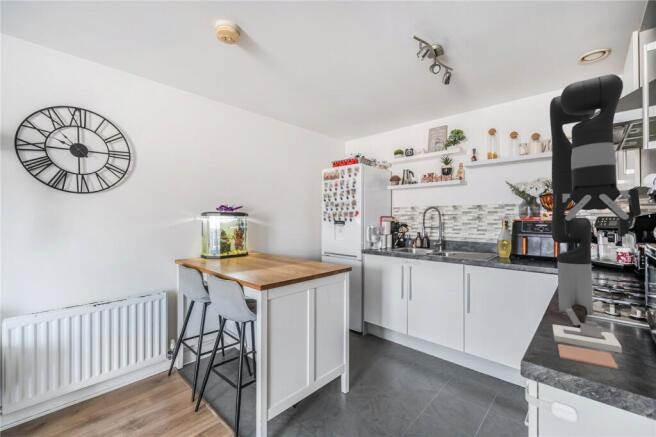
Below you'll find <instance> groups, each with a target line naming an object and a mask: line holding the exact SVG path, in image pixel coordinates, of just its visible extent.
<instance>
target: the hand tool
mask: <svg viewBox="0 0 656 437" xmlns="http://www.w3.org/2000/svg"><path fill="white" fill-rule="evenodd" d="M571 308H572V309H573V311H574V313H575V314H576V316H577V318H578V319H579V321H580V323H584V324H585V323H586V317H587V316H588V315H587V309H586V307H585V306H582V305H579V304H576V305H573V306H572V307H571ZM572 324H573V323H572ZM572 327H574V328H580V325H574V324H573V326H572Z"/></svg>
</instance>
